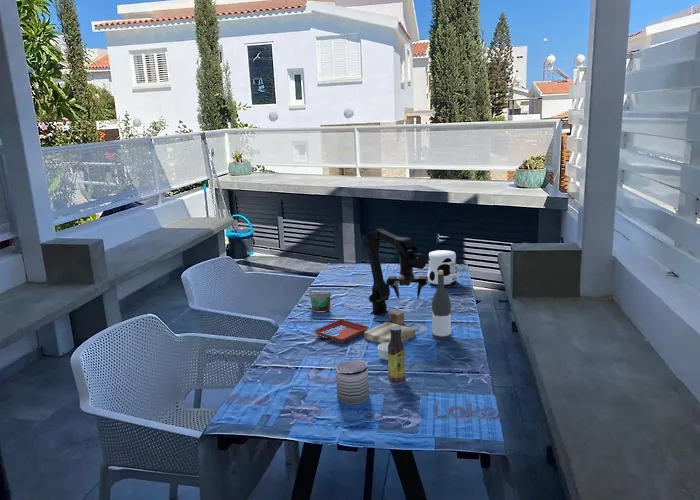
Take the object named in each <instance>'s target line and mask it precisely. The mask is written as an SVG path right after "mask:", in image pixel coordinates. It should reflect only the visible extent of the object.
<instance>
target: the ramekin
mask: <svg viewBox="0 0 700 500" xmlns="http://www.w3.org/2000/svg"><path fill="white" fill-rule="evenodd" d="M388 344H389V342H387V343H382V344H380V343H378V345H377V350H378V356H379V358H380V359H381V360H385V361H388Z"/></svg>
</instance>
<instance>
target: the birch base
mask: <svg viewBox="0 0 700 500" xmlns="http://www.w3.org/2000/svg"><path fill="white" fill-rule="evenodd" d="M391 327H400V328H401V341H402V343H404V342H406V341H408V340H410V339H411V338H413V337H415V336H416V328H413V327H410V326H409V327H408V326H405V325H397V324H393V323H390V322H389V321H385V322H383V323H382V324H379V325H377V326H374V327H373V328H370V329H367V330H366V331H365V332H364V333H363V334H364V337H363V338H364V339H365V340H368V341H371V342H373V343H378V344H382V343H387V342H390V341H391V332H390V328H391Z"/></svg>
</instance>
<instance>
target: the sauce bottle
mask: <svg viewBox="0 0 700 500" xmlns="http://www.w3.org/2000/svg"><path fill="white" fill-rule="evenodd" d="M390 332H391V341H390V342H389V344H388V360H387V373H388V374H387V375H388V379H389V380H390V381H391V382H396V383H397V382H402V381H405V380H404V379H405V375H406V359H405V358H406V353H405V352H406V350H405V346H404V344H403V343H404V342H402V341H401V328H400V327H391V328H390Z"/></svg>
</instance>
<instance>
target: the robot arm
mask: <svg viewBox="0 0 700 500" xmlns="http://www.w3.org/2000/svg"><path fill="white" fill-rule="evenodd" d="M382 241H383V242H385V243H388V244H390V245H392V246H393V248H394V249H395V250H396V251H398V252H397V253H396V256H398V257H399V265H400V266H399V267H400V269H399V271H400V273H399V277H397V276H392V275H391V276H388V277H387V279H386V281H385V280H384V279H385V278H384V275H383V269H382V265H381V259H380V255H379V251H380V248H381V242H382ZM361 243H362V246H363V247H362V248H363V250H364V251H365V252H366V253H367V255H368V261H369V263H370V264H369V265H370V269H371V274H372V275H371V276H372V279H373V285H372V288H371V294H370V296H368V300H369V302H370V303H372V305H371V306H372V311H371V312H370V314H374V315H377V316H383V315H385V314H387V313H388V312H389V310H388V308H387V302H386V301H389V298H390V295H391V288H392V290H394V293H395V294H396V297H397V299H398V300H399V299H400V289H399V286H401V287H402V286H410V285H411V284H412V283H414V284H415V283H417V294H416V295H417V296H416V297H417V299H419V298H420V295H421V292H422V289H423V288H424V287H425V286H426V285H428V283H429V281H428V277H427V276H424V275H423V276H422V275H420V276H419V277H418V278H416V277H415V275H414V269H418V270H423V269H424V268H426V265H427V260H426V257H425V256H423V253H419V250H418V248H417V246H416V244H415V242H414V241H413V239H412V238H410V237H404V236H397V235H396V234H394V233H391V232H389V231H387V230H385V229H383V228H378V229H375V230H374V231H372V232H371V233H369V234H367V235H366V236H364V237H363V238H362V239H361ZM390 287H391V288H390Z"/></svg>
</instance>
